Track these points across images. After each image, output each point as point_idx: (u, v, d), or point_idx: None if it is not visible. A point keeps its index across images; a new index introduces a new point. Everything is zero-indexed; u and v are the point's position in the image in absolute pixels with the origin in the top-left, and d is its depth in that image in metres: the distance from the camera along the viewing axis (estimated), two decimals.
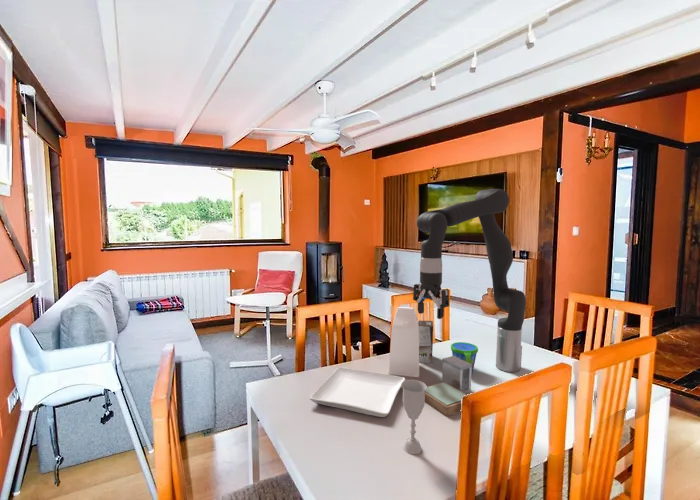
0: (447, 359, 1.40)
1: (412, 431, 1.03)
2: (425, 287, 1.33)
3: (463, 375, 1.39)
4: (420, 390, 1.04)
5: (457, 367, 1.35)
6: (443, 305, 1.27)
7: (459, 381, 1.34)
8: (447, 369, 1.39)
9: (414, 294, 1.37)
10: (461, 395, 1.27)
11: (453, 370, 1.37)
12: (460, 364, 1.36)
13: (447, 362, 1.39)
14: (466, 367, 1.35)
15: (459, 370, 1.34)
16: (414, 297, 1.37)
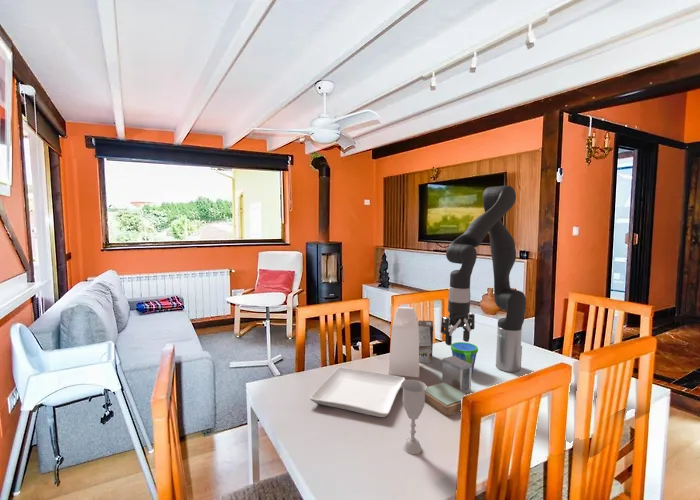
0: (447, 359, 1.40)
1: (412, 431, 1.03)
2: (457, 317, 1.35)
3: (463, 375, 1.39)
4: (420, 390, 1.04)
5: (457, 367, 1.35)
6: (473, 327, 1.40)
7: (459, 381, 1.34)
8: (447, 369, 1.39)
9: (447, 328, 1.33)
10: (461, 395, 1.27)
11: (453, 370, 1.37)
12: (460, 364, 1.36)
13: (447, 362, 1.39)
14: (466, 367, 1.35)
15: (459, 370, 1.34)
16: (447, 331, 1.33)
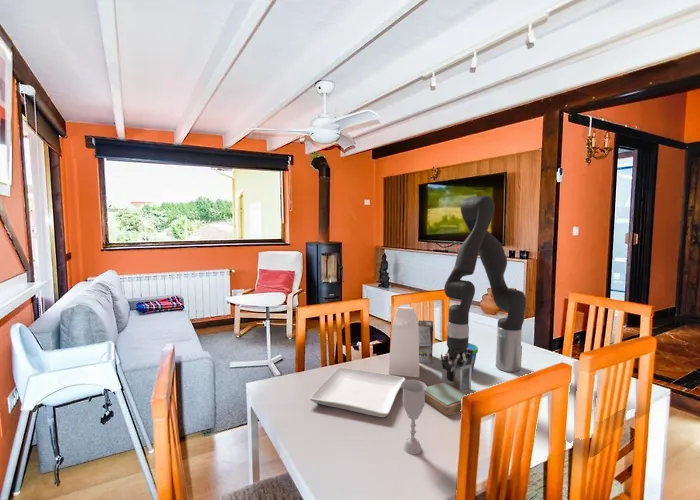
0: None
1: (412, 431, 1.03)
2: (456, 352, 1.37)
3: (463, 375, 1.39)
4: (420, 390, 1.04)
5: (457, 367, 1.35)
6: None
7: (459, 381, 1.34)
8: None
9: (447, 365, 1.35)
10: (461, 395, 1.27)
11: (453, 370, 1.37)
12: (460, 364, 1.36)
13: None
14: (466, 367, 1.35)
15: (459, 370, 1.34)
16: (448, 368, 1.35)
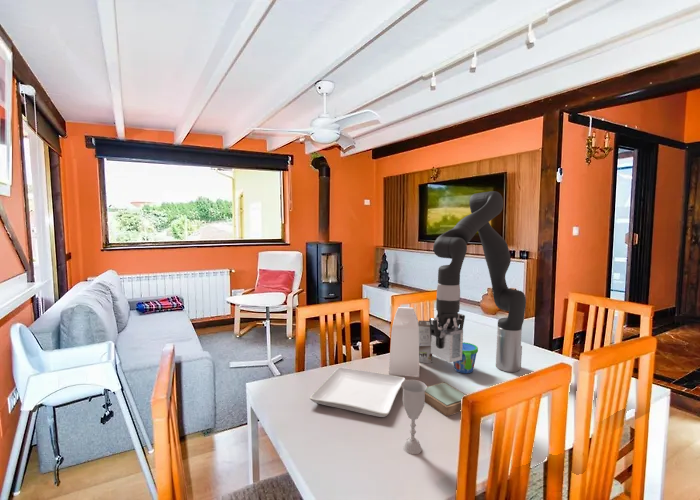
0: None
1: (412, 431, 1.03)
2: (446, 316, 1.25)
3: (454, 342, 1.27)
4: (420, 390, 1.04)
5: (447, 332, 1.23)
6: None
7: (449, 347, 1.22)
8: None
9: (436, 330, 1.23)
10: (461, 395, 1.27)
11: (443, 336, 1.25)
12: (450, 329, 1.24)
13: None
14: (457, 332, 1.23)
15: (449, 335, 1.22)
16: (437, 333, 1.23)
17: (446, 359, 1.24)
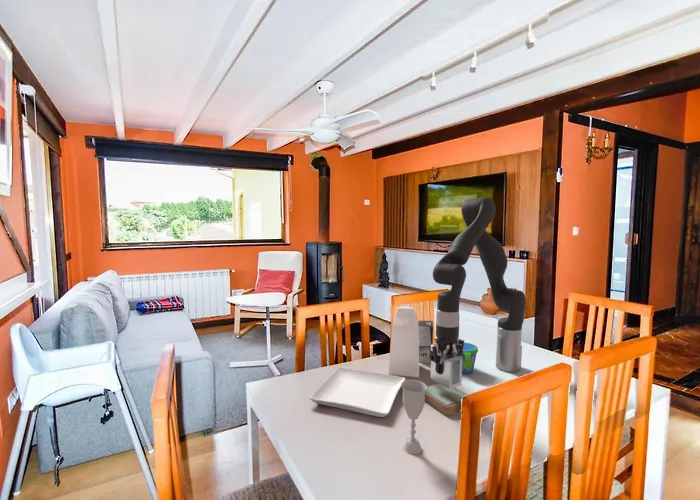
0: None
1: (412, 431, 1.03)
2: (446, 342, 1.25)
3: (453, 367, 1.27)
4: (420, 390, 1.04)
5: (446, 358, 1.24)
6: None
7: (448, 374, 1.23)
8: None
9: (436, 357, 1.24)
10: (461, 395, 1.27)
11: (442, 362, 1.25)
12: (450, 355, 1.25)
13: None
14: (456, 358, 1.24)
15: (448, 362, 1.23)
16: (436, 360, 1.24)
17: (446, 385, 1.25)
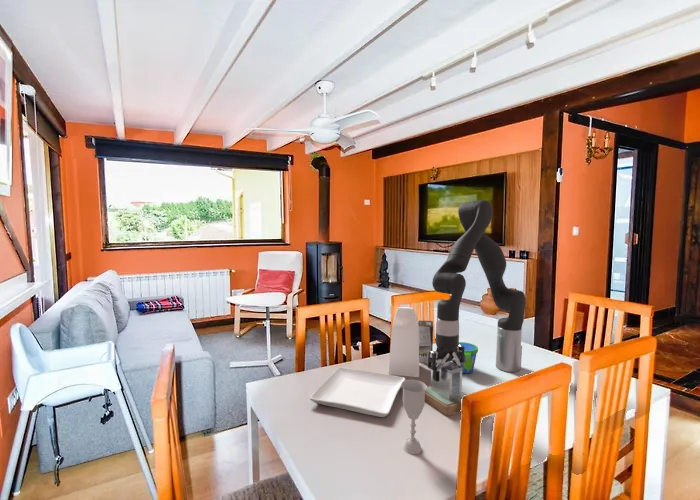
0: None
1: (412, 431, 1.03)
2: (446, 351, 1.26)
3: (453, 379, 1.28)
4: (420, 390, 1.04)
5: (446, 370, 1.24)
6: (463, 360, 1.30)
7: (448, 385, 1.24)
8: None
9: (434, 364, 1.23)
10: (461, 395, 1.27)
11: (442, 373, 1.26)
12: (449, 367, 1.25)
13: None
14: (456, 370, 1.24)
15: (448, 374, 1.23)
16: (434, 367, 1.24)
17: (446, 397, 1.25)
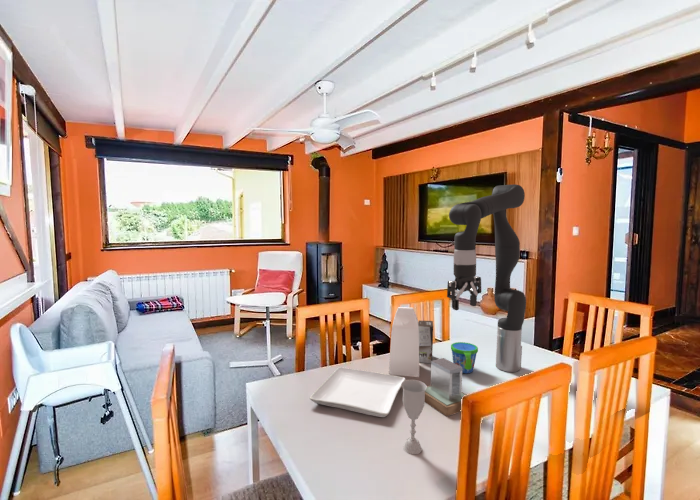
0: (436, 361, 1.30)
1: (412, 431, 1.03)
2: (464, 280, 1.31)
3: (453, 379, 1.28)
4: (420, 390, 1.04)
5: (446, 370, 1.24)
6: (480, 291, 1.35)
7: (448, 385, 1.24)
8: (436, 372, 1.28)
9: (453, 292, 1.28)
10: (461, 395, 1.27)
11: (442, 373, 1.26)
12: (449, 367, 1.25)
13: (436, 365, 1.28)
14: (456, 370, 1.24)
15: (448, 374, 1.23)
16: (453, 295, 1.29)
17: (446, 397, 1.25)
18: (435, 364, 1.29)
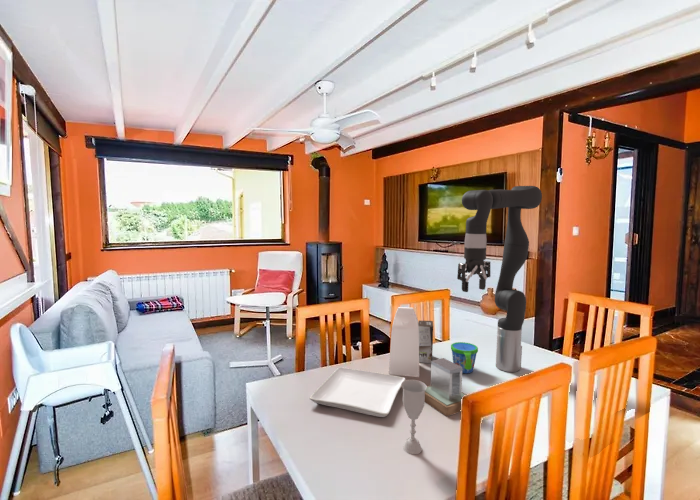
0: (436, 361, 1.30)
1: (412, 431, 1.03)
2: (474, 263, 1.35)
3: (453, 379, 1.28)
4: (420, 390, 1.04)
5: (446, 370, 1.24)
6: (489, 275, 1.40)
7: (448, 385, 1.24)
8: (436, 372, 1.28)
9: (463, 274, 1.33)
10: (461, 395, 1.27)
11: (442, 373, 1.26)
12: (449, 367, 1.25)
13: (436, 365, 1.28)
14: (456, 370, 1.24)
15: (448, 374, 1.23)
16: (463, 277, 1.33)
17: (446, 397, 1.25)
18: (435, 364, 1.29)
